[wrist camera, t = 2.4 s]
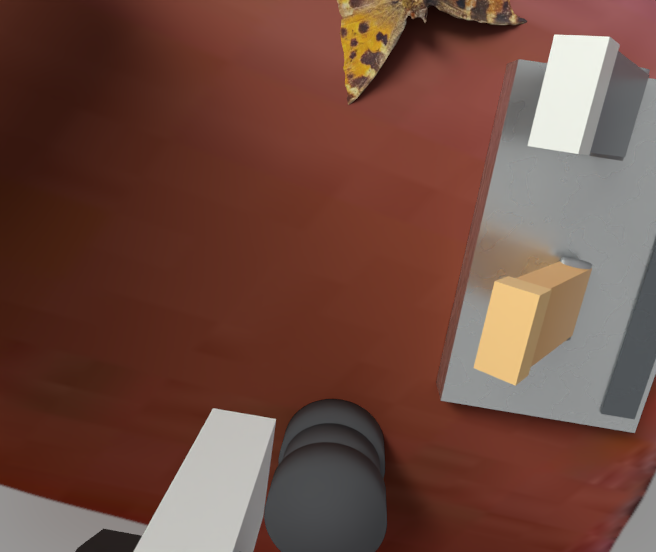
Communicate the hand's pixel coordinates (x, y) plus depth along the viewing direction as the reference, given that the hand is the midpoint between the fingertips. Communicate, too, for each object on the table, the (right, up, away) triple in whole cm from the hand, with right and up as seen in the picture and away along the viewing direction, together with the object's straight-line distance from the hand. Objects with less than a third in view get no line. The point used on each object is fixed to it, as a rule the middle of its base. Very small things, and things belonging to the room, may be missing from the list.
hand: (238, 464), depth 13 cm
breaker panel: (+17, +6, +20) cm, 27 cm away
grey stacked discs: (+3, -7, +26) cm, 27 cm away
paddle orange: (+16, +3, +19) cm, 25 cm away
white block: (+18, +13, +16) cm, 27 cm away
